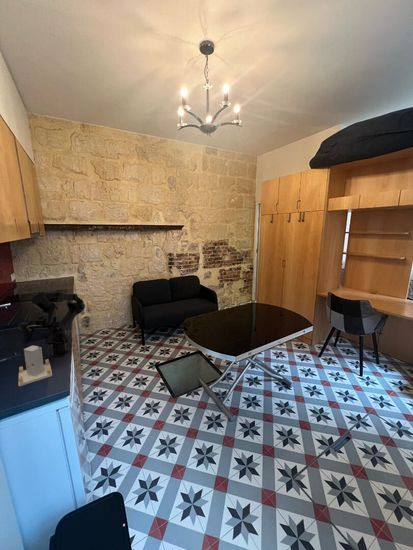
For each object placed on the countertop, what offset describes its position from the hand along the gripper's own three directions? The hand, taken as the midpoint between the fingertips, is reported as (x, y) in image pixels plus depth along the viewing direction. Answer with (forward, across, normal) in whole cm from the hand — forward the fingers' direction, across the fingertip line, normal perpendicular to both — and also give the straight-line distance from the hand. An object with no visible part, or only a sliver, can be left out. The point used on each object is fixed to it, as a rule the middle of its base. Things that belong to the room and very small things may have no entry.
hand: (35, 344), depth 108 cm
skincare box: (+11, 0, +7) cm, 13 cm away
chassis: (+12, 0, +7) cm, 14 cm away
